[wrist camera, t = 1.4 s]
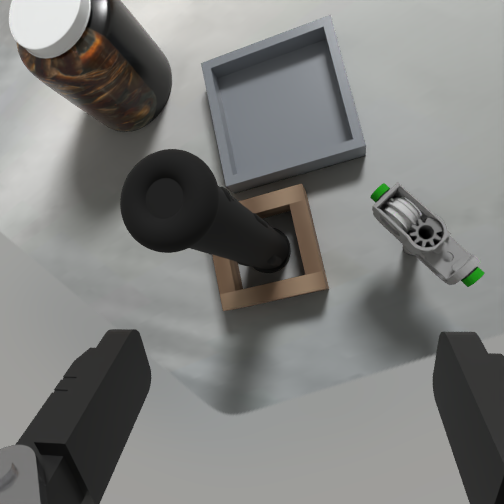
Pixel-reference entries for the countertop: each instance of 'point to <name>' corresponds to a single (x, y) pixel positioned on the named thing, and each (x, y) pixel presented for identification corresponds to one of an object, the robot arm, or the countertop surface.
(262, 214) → the collar
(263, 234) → the tube
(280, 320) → the countertop surface
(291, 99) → the tray
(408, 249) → the mechanical component
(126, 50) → the jar
